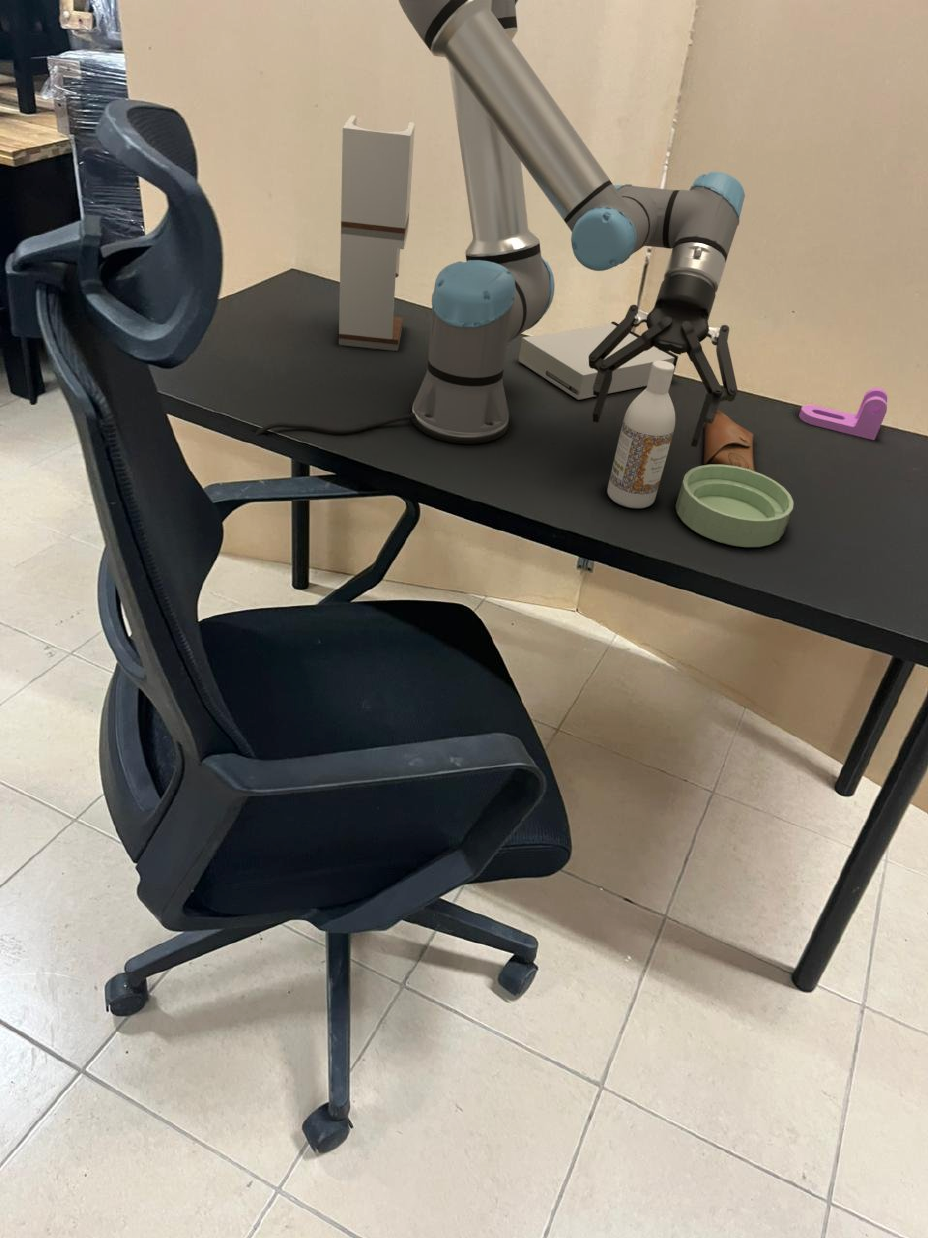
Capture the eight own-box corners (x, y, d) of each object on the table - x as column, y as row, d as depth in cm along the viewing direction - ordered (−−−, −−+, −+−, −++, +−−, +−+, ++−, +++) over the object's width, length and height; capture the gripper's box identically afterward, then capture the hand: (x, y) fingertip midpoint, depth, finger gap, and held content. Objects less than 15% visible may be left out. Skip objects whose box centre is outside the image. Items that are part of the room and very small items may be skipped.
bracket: (875, 427, 157) (890, 390, 153) (874, 440, 153) (890, 402, 149) (800, 409, 161) (813, 372, 156) (797, 421, 156) (811, 383, 152)
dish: (681, 540, 121) (690, 512, 118) (669, 485, 133) (677, 458, 130) (793, 555, 121) (804, 527, 118) (771, 498, 133) (781, 471, 130)
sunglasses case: (759, 483, 135) (747, 445, 132) (712, 496, 138) (700, 459, 135) (753, 433, 149) (743, 397, 146) (711, 446, 152) (700, 411, 149)
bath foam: (628, 514, 125) (662, 378, 113) (596, 490, 129) (626, 357, 117) (664, 504, 128) (701, 371, 116) (632, 481, 133) (664, 351, 120)
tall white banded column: (397, 350, 162) (410, 135, 141) (338, 344, 162) (342, 127, 140) (402, 328, 171) (414, 122, 150) (346, 322, 171) (351, 114, 149)
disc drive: (672, 382, 164) (679, 355, 161) (578, 401, 153) (584, 373, 150) (609, 346, 175) (614, 321, 172) (517, 362, 164) (521, 335, 161)
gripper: (600, 252, 121) (553, 397, 119) (786, 292, 116) (741, 443, 114) (601, 281, 129) (556, 418, 126) (776, 320, 124) (733, 462, 121)
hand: (644, 430), depth 120 cm, fingers open, 13 cm apart
